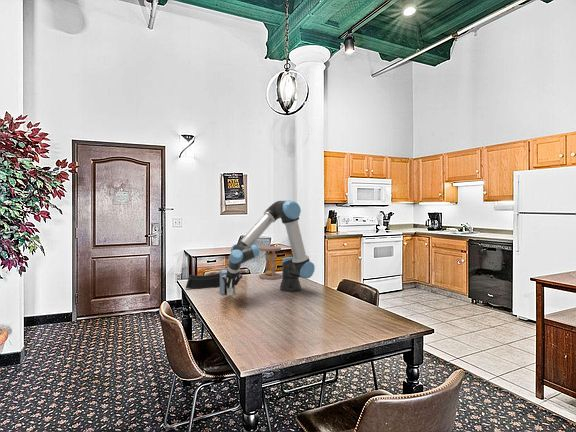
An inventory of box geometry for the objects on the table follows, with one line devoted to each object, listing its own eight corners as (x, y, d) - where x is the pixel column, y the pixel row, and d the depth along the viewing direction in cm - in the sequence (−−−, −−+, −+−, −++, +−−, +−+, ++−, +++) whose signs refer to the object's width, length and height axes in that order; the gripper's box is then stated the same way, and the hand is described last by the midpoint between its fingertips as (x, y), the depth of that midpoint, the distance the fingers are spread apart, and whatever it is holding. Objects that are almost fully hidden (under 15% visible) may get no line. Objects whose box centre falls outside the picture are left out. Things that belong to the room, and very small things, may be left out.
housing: (235, 294, 245) (235, 272, 244) (222, 295, 242) (222, 273, 242) (231, 289, 258) (231, 269, 257) (219, 290, 255) (219, 269, 255)
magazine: (182, 277, 255) (223, 262, 265) (182, 276, 258) (222, 262, 268) (189, 300, 258) (230, 284, 268) (189, 298, 261) (229, 283, 271)
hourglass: (257, 276, 308) (258, 246, 307) (278, 275, 312) (278, 245, 311) (261, 280, 291) (261, 248, 290) (282, 279, 295) (283, 248, 294)
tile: (233, 294, 244) (233, 276, 243) (227, 295, 242) (227, 277, 242) (230, 290, 256) (230, 273, 256) (224, 290, 255) (224, 273, 254)
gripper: (223, 274, 220) (220, 295, 236) (245, 273, 223) (240, 294, 240) (222, 264, 224) (219, 285, 241) (243, 263, 228) (238, 284, 245)
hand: (229, 290), depth 240 cm, fingers closed
